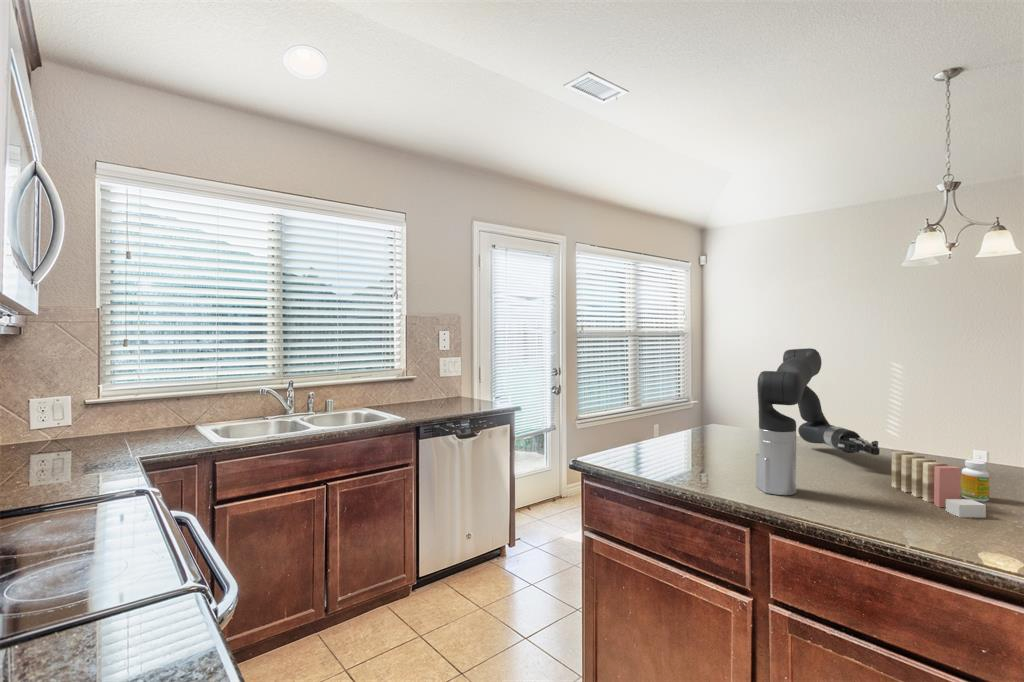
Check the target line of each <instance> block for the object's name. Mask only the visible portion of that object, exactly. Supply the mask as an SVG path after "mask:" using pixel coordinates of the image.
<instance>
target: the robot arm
mask: <svg viewBox="0 0 1024 682" xmlns="http://www.w3.org/2000/svg"><path fill="white" fill-rule="evenodd" d="M821 368H822V357H821V354H820V352H819V351H818V350H816V349H815V348H813V347H812V348H808V347H807V348H795V349H794V348H792V349H786V350H785V351H784V352H783V356H782V363H780V364H779V366H778V367H777V369H776V371H775V370H764V371H761V372H760V373H759V375H758V377H757V401H758V402H757V403H758V452H757V453H756V454H755V488H757V489H759V490H760V491H762V492H763V493H764V494H771V495H777V496H791V495H795V494H797V431H798V435H799V436H800V438H801V439H803V440H804V441H805V442H807V443H809V444H810V443H811V444H818V445H819V444H822V445H823V444H824V445H827V446H829V447H831V448H833V449H836V450H838V451H840V452H842V453H845V454H853V453H864V454H865V453H867V454H870V455H872V456H880V447H879V441H877V440H873V441H871V442H869V440H866V439H864V438H862V437H861V436H860V434H859V433H858V432H856V431H854V430H851V429H847V428H845V427H841V426H835V425H832V424H830V423H829V421H828V420H827V418H826V417H825V414H824V412H823V410H822V405H821V400H820V398H819V396H818V394H817V393H816V392H815V391H814V390H813V389H812V388H811V387H810V386H808V384H809V383H810V382H811V380H812V378H813V377H815V376H818V374H819V373H820V371H821ZM773 405H776V406H777V405H778V406H779V405H780V406H795V405H797V406H798V410H799V411H798V412H799V415H800V417H801V419H802V420H803V421H805V422H804V423H801V424H800V425H799V427H798V430H797V421H796V420H795V419H794V418H792V417H790V416H787V415H785V414H784V413H782V412H779V411H778V410H777V409H775V407H774V406H773Z"/></svg>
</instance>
